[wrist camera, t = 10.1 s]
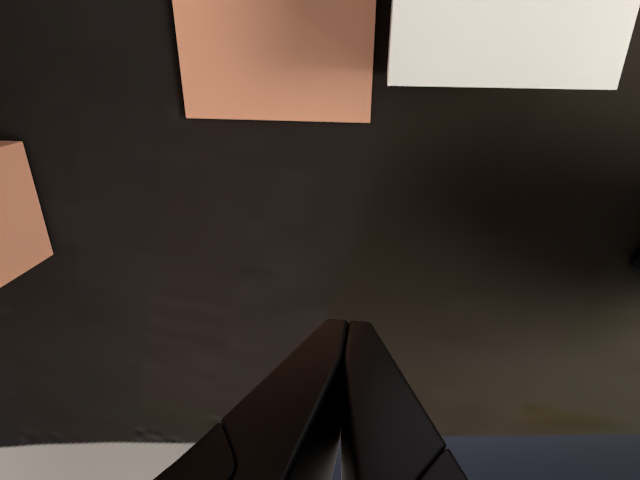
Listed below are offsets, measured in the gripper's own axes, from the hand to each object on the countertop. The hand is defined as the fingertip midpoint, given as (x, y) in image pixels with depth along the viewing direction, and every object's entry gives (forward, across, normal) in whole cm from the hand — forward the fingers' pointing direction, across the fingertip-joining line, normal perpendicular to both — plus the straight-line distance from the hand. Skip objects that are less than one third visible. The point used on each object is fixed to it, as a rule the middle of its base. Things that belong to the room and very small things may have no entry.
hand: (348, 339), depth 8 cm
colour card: (+12, +4, -5) cm, 14 cm away
